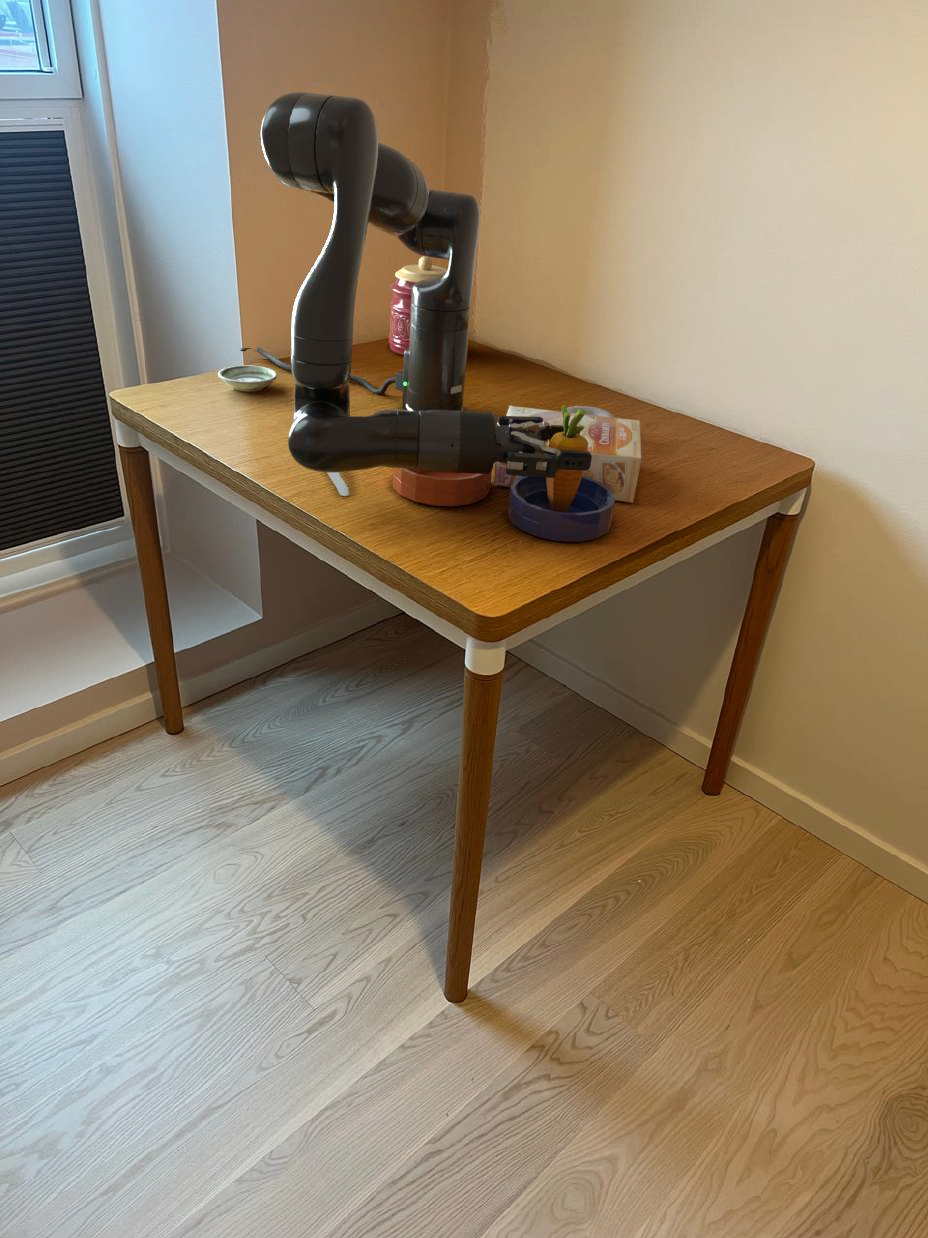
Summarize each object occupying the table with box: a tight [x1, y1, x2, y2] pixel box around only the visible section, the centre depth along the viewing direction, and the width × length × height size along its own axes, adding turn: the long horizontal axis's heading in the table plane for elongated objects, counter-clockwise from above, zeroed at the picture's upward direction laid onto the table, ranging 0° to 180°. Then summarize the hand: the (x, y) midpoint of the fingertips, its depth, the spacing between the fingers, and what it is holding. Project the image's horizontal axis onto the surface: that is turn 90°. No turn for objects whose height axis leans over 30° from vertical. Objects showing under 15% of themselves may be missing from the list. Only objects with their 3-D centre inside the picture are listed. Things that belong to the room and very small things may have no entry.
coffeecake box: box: [493, 404, 642, 504], centre depth 130 cm, size 15×7×20 cm
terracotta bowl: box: [392, 468, 493, 507], centre depth 124 cm, size 13×13×4 cm
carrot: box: [546, 404, 588, 512], centre depth 115 cm, size 5×5×15 cm
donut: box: [560, 405, 616, 418], centre depth 146 cm, size 10×4×10 cm
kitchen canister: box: [388, 256, 447, 356], centre depth 176 cm, size 13×13×18 cm
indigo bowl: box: [507, 476, 616, 543], centre depth 118 cm, size 13×13×4 cm
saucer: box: [217, 364, 278, 392], centre depth 154 cm, size 10×10×2 cm
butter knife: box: [327, 472, 350, 497], centre depth 131 cm, size 1×27×3 cm
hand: (584, 447), depth 114 cm, fingers open, 8 cm apart
